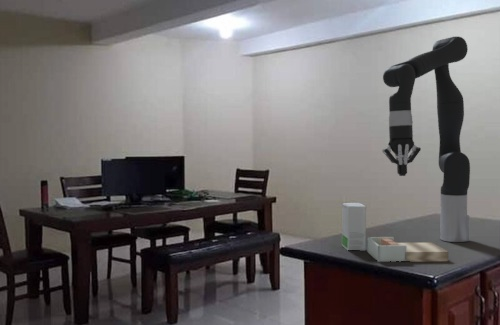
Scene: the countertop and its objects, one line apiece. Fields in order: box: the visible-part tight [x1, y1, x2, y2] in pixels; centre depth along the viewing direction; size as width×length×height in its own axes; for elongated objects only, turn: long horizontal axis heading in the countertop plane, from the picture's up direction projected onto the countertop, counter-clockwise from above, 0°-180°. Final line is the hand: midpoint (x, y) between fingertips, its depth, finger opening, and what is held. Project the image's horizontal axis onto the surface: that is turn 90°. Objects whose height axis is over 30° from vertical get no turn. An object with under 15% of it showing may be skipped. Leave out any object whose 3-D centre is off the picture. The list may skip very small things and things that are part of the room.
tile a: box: [381, 239, 393, 246], centre depth 161 cm, size 4×4×2 cm
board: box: [396, 241, 449, 263], centre depth 159 cm, size 13×14×3 cm
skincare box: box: [341, 202, 367, 251], centre depth 171 cm, size 8×7×16 cm
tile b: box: [387, 241, 399, 246], centre depth 156 cm, size 4×4×2 cm
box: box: [366, 236, 407, 263], centre depth 159 cm, size 9×14×5 cm, turn 0°
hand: (402, 175), depth 166 cm, fingers closed
